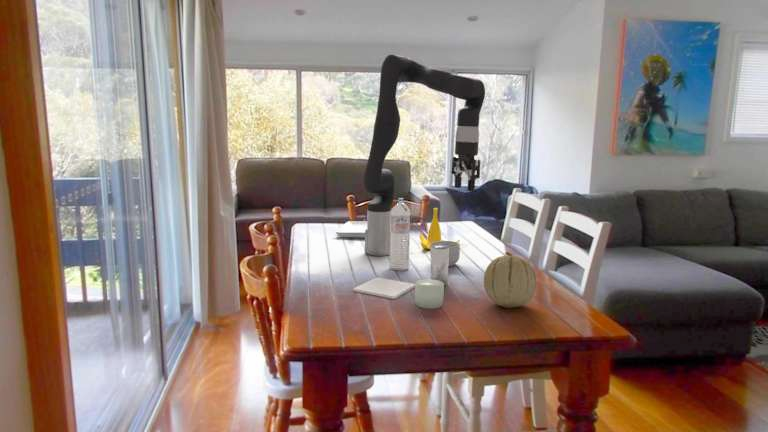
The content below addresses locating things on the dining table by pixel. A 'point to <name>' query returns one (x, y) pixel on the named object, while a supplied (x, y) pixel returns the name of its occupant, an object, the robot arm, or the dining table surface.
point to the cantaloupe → (510, 281)
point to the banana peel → (432, 232)
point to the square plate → (353, 229)
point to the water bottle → (400, 236)
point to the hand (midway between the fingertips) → (464, 189)
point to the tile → (384, 288)
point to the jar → (429, 293)
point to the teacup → (450, 250)
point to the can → (439, 263)
